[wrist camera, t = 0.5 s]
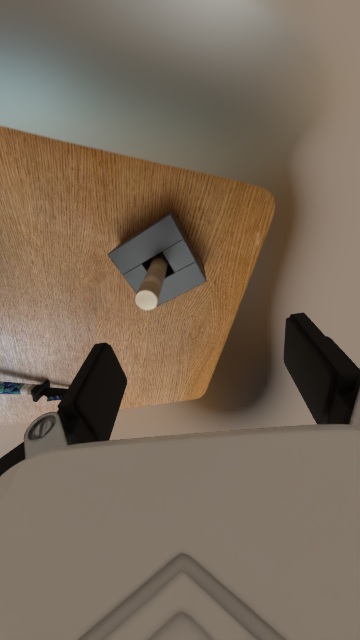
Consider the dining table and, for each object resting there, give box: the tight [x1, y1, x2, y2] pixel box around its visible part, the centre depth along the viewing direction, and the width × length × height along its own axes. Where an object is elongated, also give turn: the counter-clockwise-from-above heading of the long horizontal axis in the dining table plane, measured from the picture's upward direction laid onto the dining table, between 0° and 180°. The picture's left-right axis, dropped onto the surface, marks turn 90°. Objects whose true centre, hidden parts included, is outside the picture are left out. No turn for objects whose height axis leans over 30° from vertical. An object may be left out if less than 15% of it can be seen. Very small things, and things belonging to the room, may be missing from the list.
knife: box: [0, 380, 68, 402], centre depth 52 cm, size 31×3×4 cm, turn 72°
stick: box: [135, 252, 169, 310], centre depth 28 cm, size 2×2×16 cm
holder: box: [108, 210, 206, 307], centre depth 33 cm, size 10×10×6 cm
